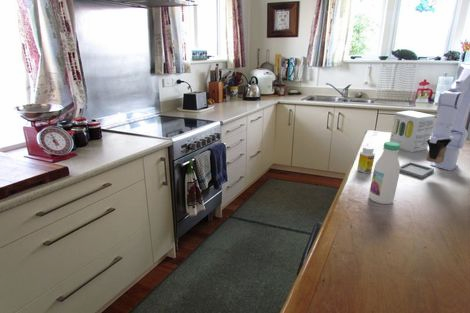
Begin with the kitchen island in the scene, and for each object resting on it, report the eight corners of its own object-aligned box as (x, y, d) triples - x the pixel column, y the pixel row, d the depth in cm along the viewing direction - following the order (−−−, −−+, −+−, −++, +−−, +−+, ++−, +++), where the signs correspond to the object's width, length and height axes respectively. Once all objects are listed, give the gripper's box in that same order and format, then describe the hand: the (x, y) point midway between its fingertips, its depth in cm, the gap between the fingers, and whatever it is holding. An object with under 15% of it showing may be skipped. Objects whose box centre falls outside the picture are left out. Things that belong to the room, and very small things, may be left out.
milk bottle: (391, 196, 110) (403, 141, 103) (394, 206, 103) (407, 148, 96) (368, 192, 112) (378, 138, 105) (369, 202, 105) (380, 145, 99)
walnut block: (430, 158, 128) (434, 143, 126) (443, 161, 125) (447, 146, 123) (426, 160, 125) (429, 146, 123) (438, 163, 122) (442, 149, 120)
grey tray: (408, 164, 139) (409, 161, 139) (433, 172, 132) (434, 168, 132) (396, 170, 132) (396, 167, 132) (421, 179, 125) (422, 175, 124)
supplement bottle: (365, 174, 128) (370, 150, 124) (354, 170, 132) (358, 146, 129) (374, 171, 131) (378, 148, 127) (362, 167, 135) (366, 144, 131)
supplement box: (387, 144, 166) (394, 112, 160) (404, 141, 172) (411, 110, 166) (411, 152, 155) (419, 117, 149) (427, 149, 161) (436, 115, 155)
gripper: (448, 128, 112) (439, 164, 117) (462, 122, 121) (453, 156, 126) (427, 124, 118) (419, 158, 122) (442, 119, 126) (433, 151, 131)
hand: (435, 157), depth 124 cm, fingers closed on walnut block, 4 cm apart
